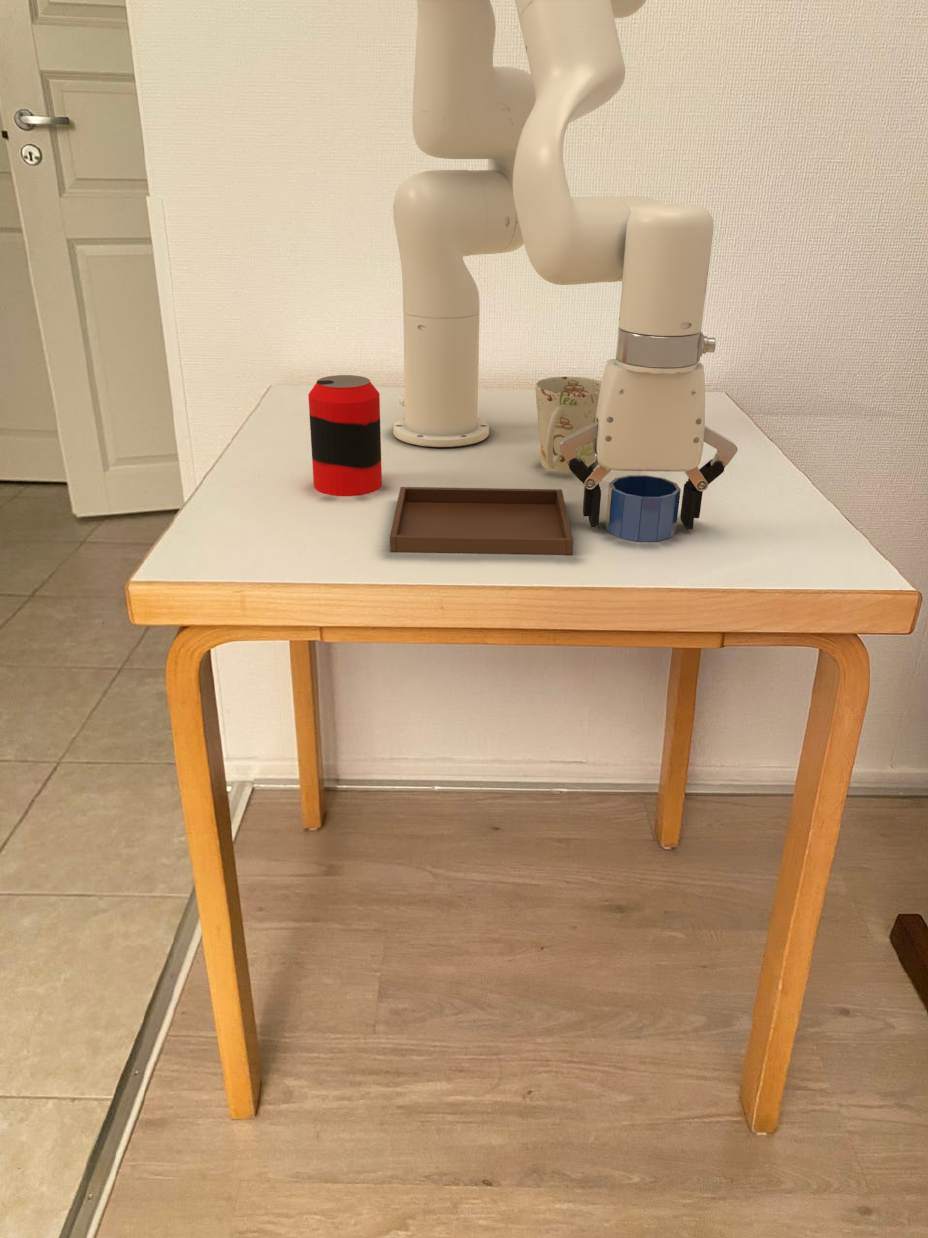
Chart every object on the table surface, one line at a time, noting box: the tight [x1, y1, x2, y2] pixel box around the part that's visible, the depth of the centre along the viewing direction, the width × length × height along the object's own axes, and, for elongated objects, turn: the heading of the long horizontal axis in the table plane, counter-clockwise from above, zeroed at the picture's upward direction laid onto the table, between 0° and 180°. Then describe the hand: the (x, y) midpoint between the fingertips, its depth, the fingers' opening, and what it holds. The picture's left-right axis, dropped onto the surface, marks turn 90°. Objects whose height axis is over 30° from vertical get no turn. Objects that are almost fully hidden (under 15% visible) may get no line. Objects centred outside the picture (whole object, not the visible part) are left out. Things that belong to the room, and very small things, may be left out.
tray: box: [389, 486, 574, 556], centre depth 98 cm, size 17×14×2 cm
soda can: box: [307, 374, 383, 497], centre depth 106 cm, size 8×8×12 cm
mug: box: [535, 376, 602, 474], centre depth 112 cm, size 8×13×10 cm, turn 161°
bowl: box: [604, 474, 682, 543], centre depth 97 cm, size 7×7×5 cm
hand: (639, 523), depth 98 cm, fingers open, 9 cm apart
